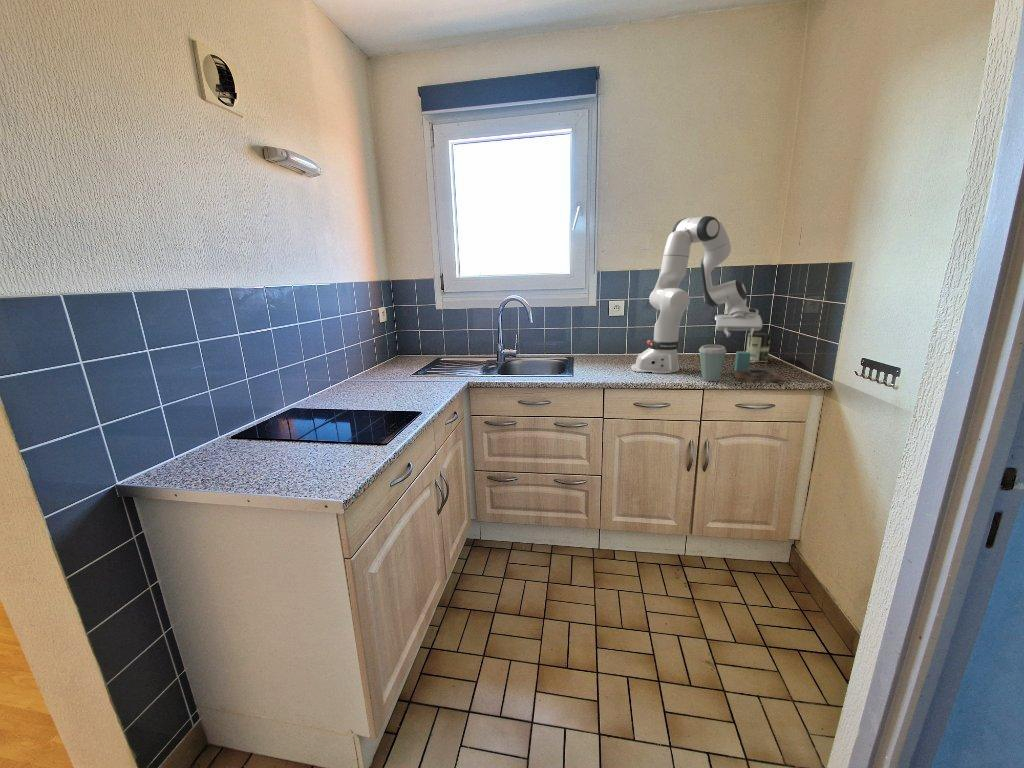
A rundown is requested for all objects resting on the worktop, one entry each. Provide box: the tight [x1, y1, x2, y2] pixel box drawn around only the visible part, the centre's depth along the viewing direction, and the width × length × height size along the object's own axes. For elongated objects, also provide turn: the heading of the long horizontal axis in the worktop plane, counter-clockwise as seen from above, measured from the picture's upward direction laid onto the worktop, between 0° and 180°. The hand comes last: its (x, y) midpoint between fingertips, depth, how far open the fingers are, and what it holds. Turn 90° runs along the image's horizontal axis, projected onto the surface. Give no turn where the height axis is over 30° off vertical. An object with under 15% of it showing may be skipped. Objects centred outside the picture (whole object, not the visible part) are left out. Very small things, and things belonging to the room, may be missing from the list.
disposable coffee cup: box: [698, 343, 727, 382], centre depth 176 cm, size 11×11×15 cm
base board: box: [731, 368, 788, 383], centre depth 178 cm, size 18×13×3 cm
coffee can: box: [745, 331, 772, 363], centre depth 209 cm, size 10×10×14 cm
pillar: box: [733, 350, 751, 371], centre depth 190 cm, size 5×5×9 cm
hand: (739, 336), depth 198 cm, fingers open, 8 cm apart
